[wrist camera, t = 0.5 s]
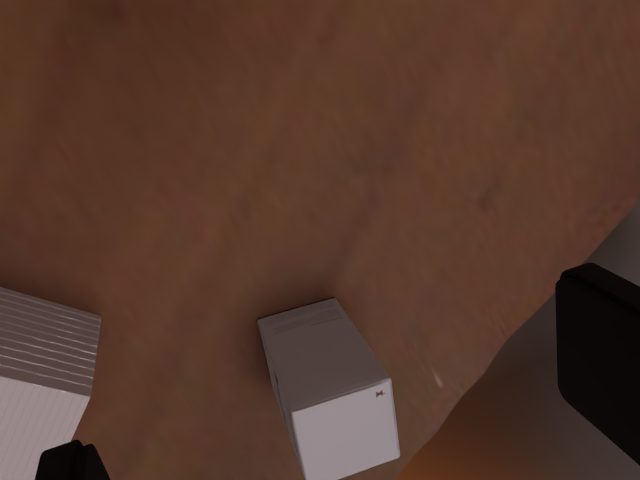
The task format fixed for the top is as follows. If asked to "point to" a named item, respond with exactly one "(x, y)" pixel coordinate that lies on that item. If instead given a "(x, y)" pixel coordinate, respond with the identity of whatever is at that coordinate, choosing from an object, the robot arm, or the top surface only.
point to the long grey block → (41, 377)
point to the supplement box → (329, 391)
